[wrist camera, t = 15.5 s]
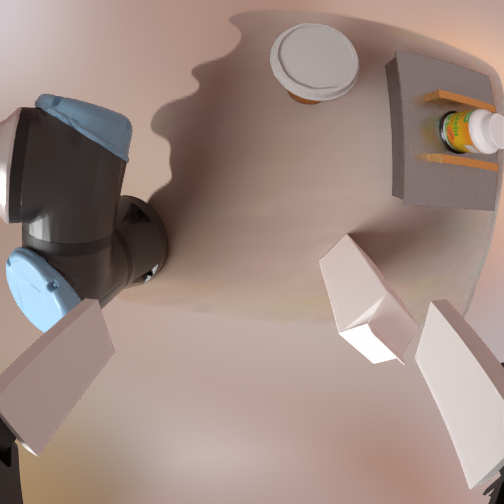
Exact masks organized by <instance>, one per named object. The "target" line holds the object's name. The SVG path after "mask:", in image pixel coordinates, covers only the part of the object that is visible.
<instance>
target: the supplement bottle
mask: <svg viewBox="0 0 504 504" xmlns="http://www.w3.org/2000/svg"><path fill="white" fill-rule="evenodd" d="M443 132H444V136H445V139H446V141H447V143H448V144H449V145H450V147H451V148H453V149H454V150H456V151H458V152H467V153H481V154H493V153H495V152H496V151H497V150H498V149H504V116H503V115H501V114H499V113H491V112H489V111H488V110H485V109H475V110H469V111H463V112H456V113H452V114H450V115H448V116H447V117H446V119H445V121H444V125H443Z"/></svg>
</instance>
